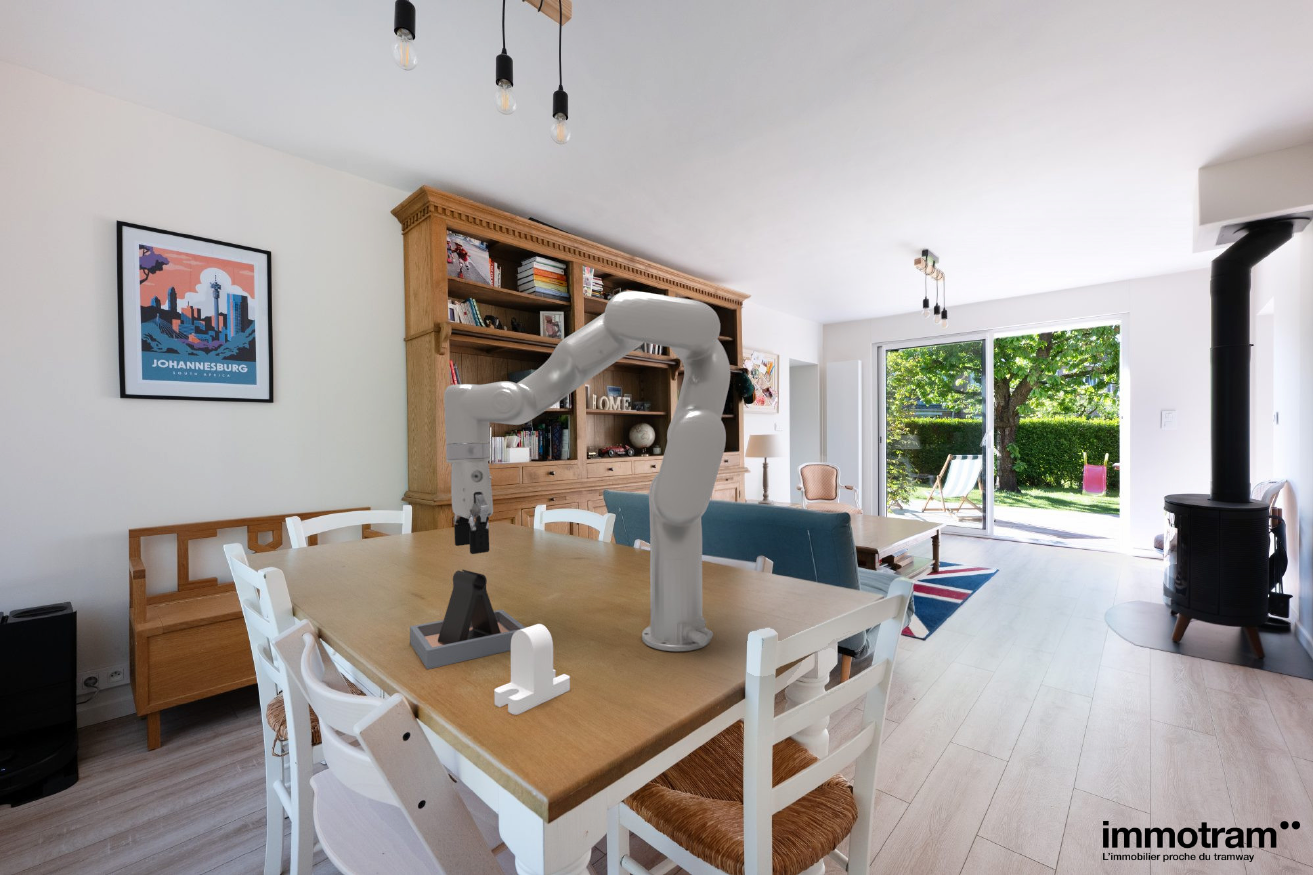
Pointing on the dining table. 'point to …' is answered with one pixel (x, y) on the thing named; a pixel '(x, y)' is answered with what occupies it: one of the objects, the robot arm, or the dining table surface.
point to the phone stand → (468, 610)
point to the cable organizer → (531, 672)
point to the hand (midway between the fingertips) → (471, 548)
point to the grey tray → (461, 642)
